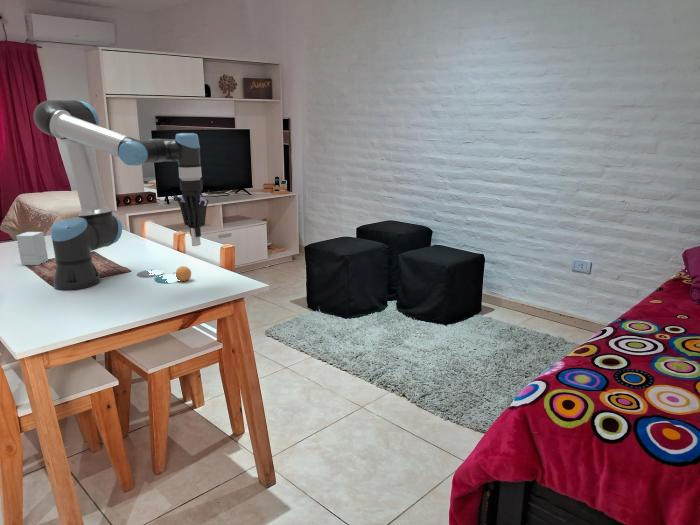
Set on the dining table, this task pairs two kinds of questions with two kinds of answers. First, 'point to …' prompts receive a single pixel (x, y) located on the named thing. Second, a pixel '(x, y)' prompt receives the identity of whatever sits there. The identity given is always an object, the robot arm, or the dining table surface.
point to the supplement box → (32, 248)
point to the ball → (183, 273)
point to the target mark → (160, 279)
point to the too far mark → (145, 274)
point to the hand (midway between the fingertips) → (196, 245)
